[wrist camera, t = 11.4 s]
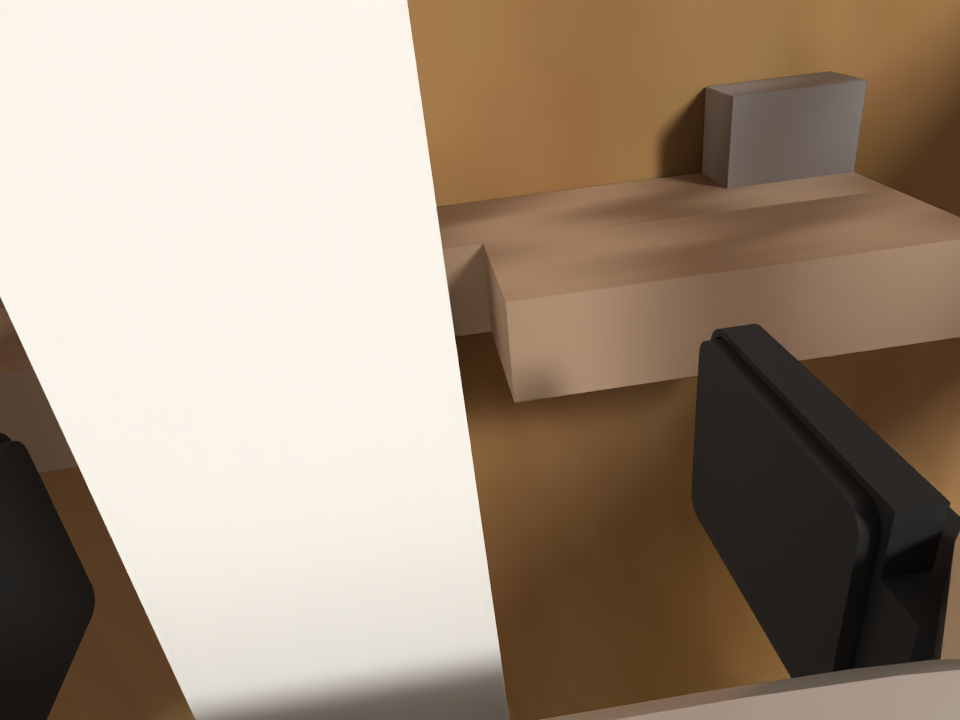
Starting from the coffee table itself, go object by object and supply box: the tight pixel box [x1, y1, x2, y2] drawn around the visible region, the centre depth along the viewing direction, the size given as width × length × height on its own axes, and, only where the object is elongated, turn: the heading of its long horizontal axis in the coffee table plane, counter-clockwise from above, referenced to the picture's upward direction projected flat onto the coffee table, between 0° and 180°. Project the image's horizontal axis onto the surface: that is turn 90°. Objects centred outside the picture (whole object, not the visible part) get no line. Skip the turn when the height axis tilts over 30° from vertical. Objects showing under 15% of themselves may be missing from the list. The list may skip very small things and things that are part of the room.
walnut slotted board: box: [0, 72, 960, 473], centre depth 15 cm, size 22×6×6 cm, turn 95°
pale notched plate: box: [0, 0, 510, 720], centre depth 12 cm, size 2×14×14 cm, turn 6°
